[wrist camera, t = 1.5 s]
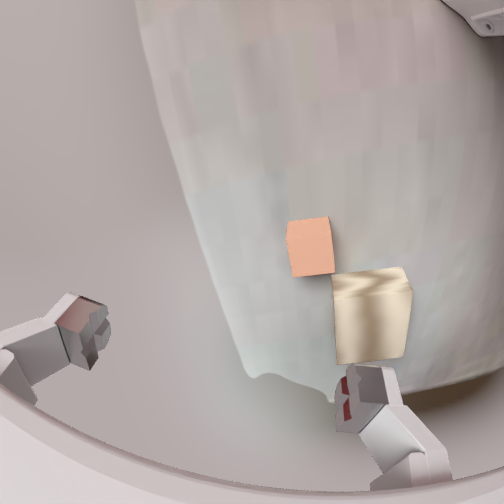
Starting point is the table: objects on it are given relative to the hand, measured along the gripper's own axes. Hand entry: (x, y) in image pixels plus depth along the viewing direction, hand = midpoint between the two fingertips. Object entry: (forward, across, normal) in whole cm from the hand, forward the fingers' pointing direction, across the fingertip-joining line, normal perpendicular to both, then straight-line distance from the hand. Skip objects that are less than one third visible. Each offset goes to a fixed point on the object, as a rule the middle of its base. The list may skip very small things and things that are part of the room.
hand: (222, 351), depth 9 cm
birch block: (+29, -17, +16) cm, 37 cm away
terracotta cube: (+29, -6, +8) cm, 31 cm away
